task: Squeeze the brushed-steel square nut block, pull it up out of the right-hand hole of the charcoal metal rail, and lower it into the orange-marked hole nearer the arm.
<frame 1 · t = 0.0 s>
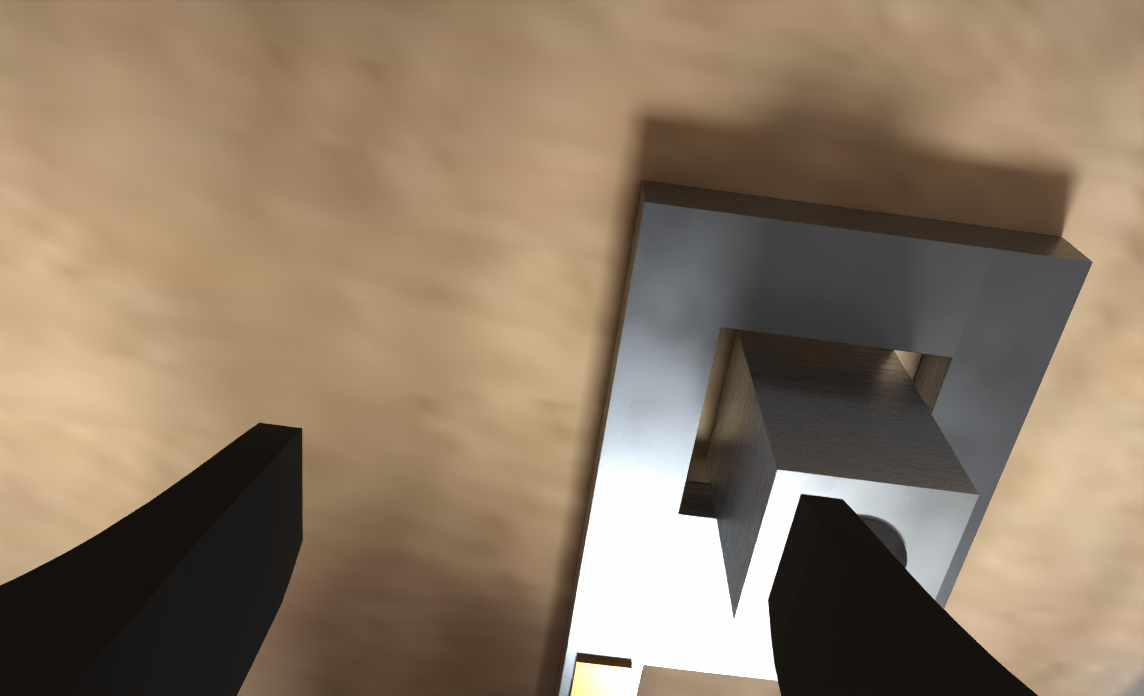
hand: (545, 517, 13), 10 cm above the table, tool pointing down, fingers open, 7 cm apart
nut block: (796, 406, 24), resting in rail
rail: (750, 568, 27), on the table
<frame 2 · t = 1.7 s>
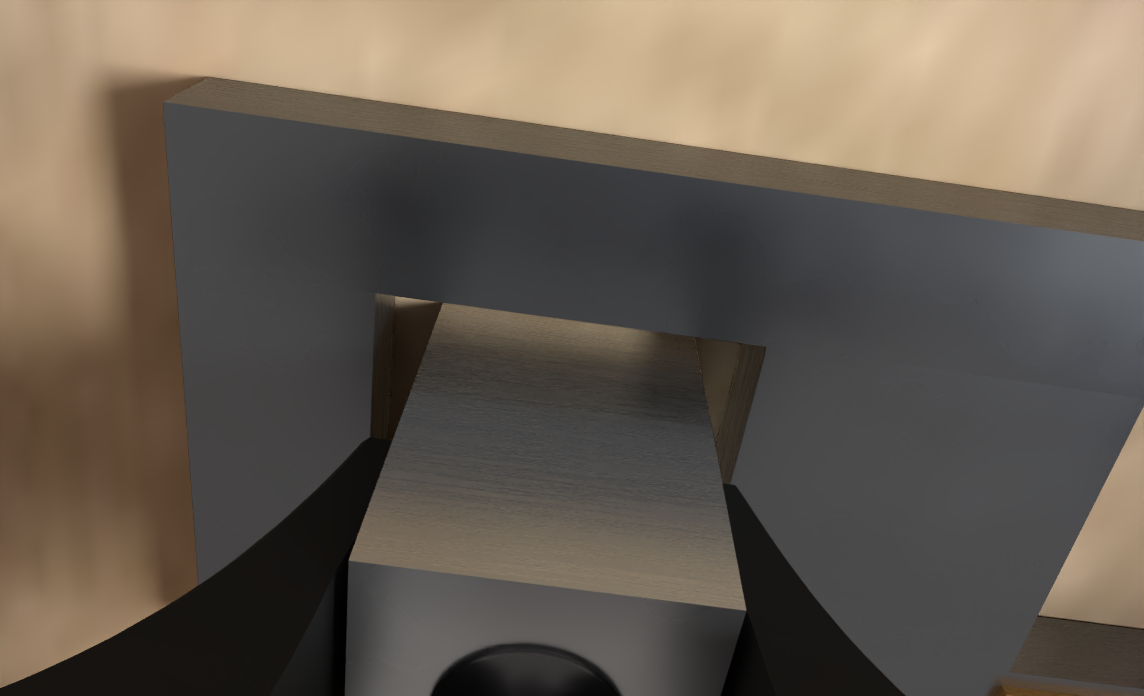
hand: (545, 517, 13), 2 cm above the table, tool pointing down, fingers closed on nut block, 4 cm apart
nut block: (553, 425, 15), resting in rail, touching gripper
rail: (874, 468, 16), on the table
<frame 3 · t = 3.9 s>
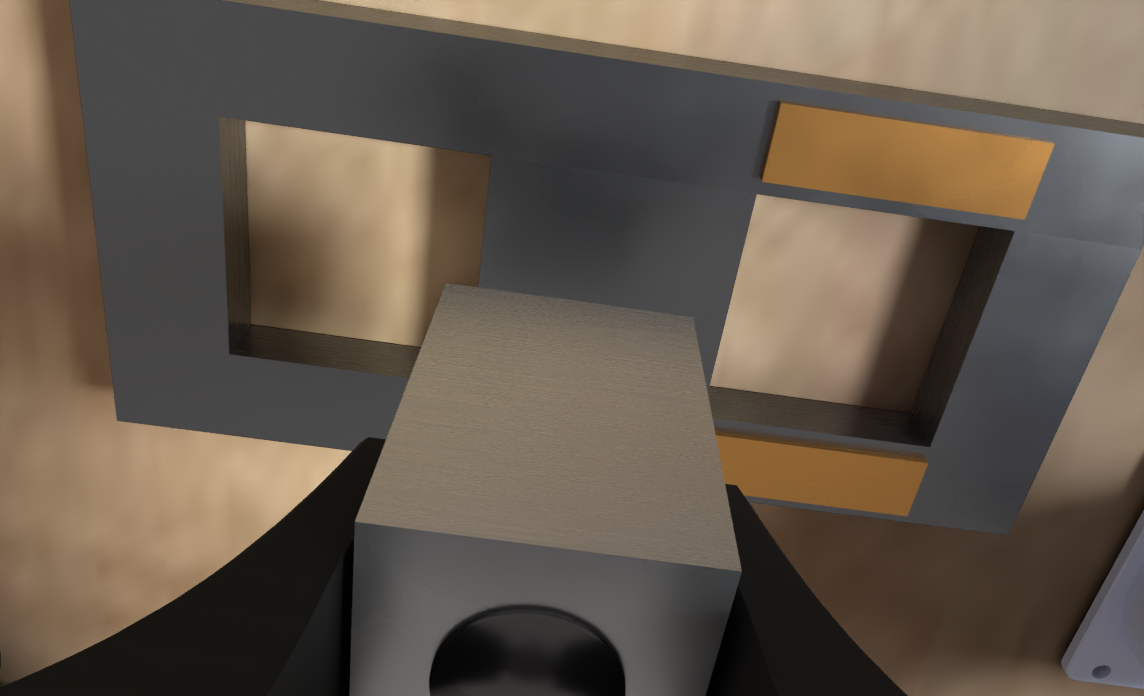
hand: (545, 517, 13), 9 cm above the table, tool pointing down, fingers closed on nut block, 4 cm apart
nut block: (554, 405, 16), point 6 cm above the table, touching gripper
rail: (603, 268, 21), on the table
when the fingers open (3 cm above the table, at t = 6.2 s): nut block stays where it is, resting in rail.
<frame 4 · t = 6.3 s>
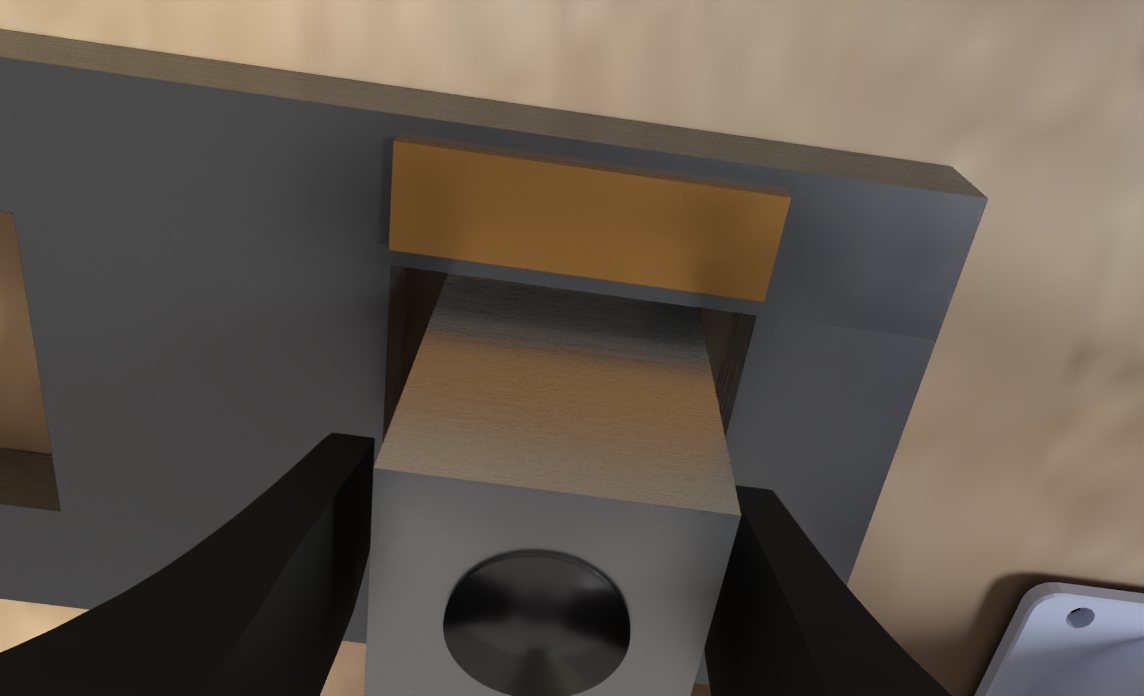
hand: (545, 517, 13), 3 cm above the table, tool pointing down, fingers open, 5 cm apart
nut block: (559, 374, 16), resting in rail
rail: (244, 354, 16), on the table
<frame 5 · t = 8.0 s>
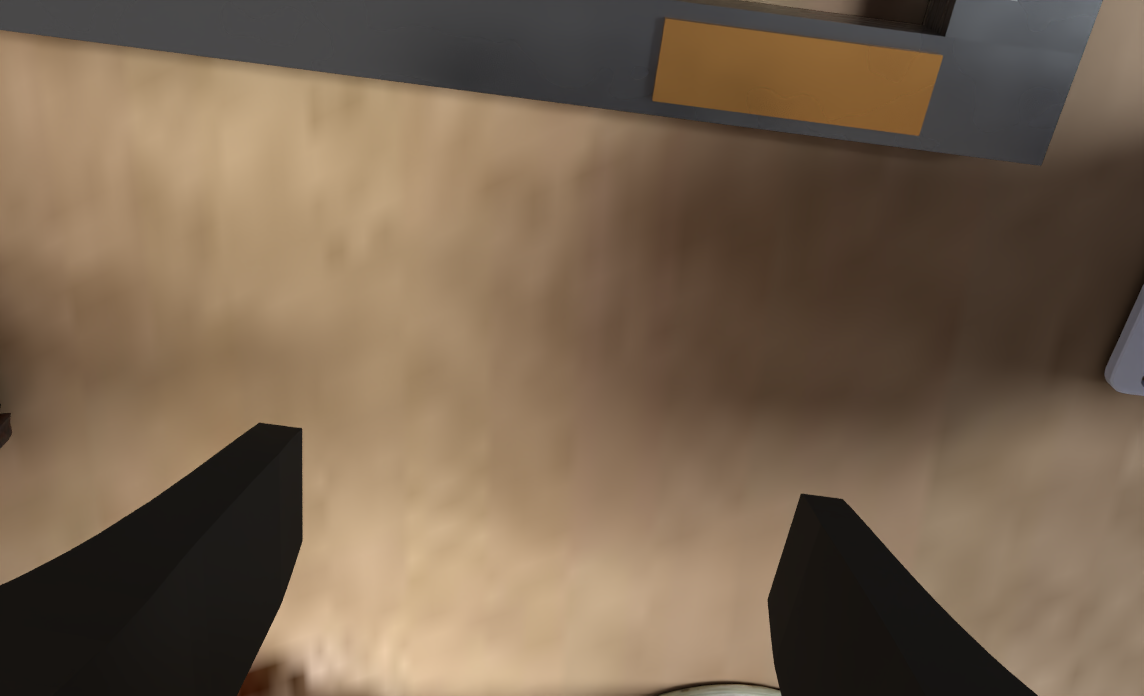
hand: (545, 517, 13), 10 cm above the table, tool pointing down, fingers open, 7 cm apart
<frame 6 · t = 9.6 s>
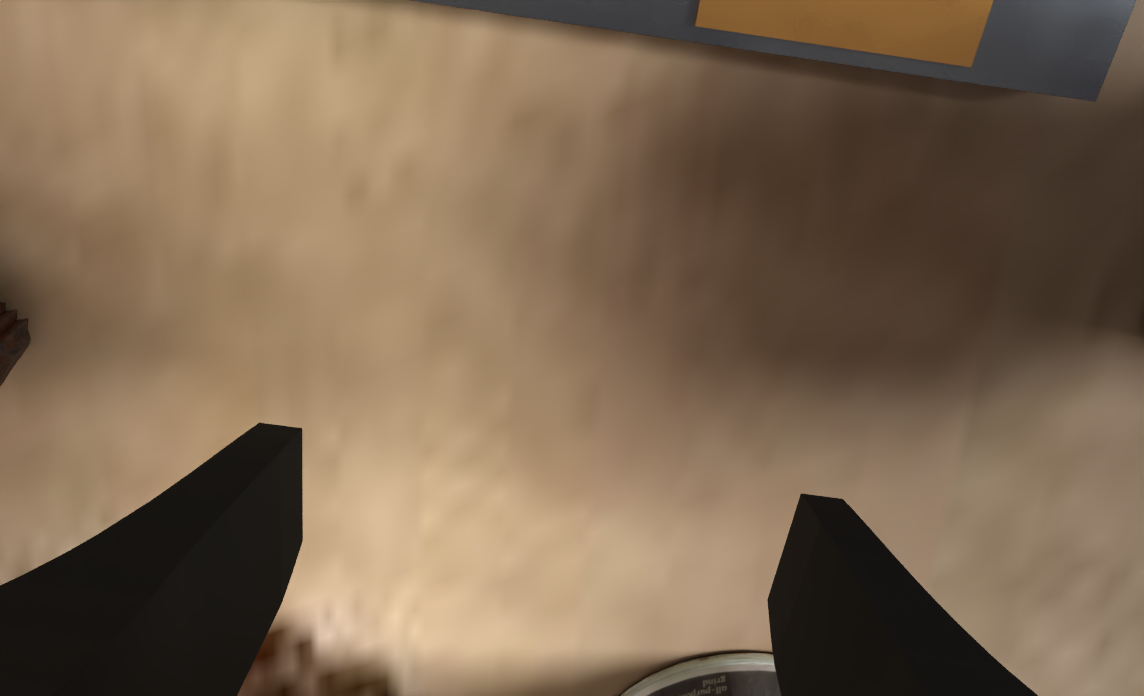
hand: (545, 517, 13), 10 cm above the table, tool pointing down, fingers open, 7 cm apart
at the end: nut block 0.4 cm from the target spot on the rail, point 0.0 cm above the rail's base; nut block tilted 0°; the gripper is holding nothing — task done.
